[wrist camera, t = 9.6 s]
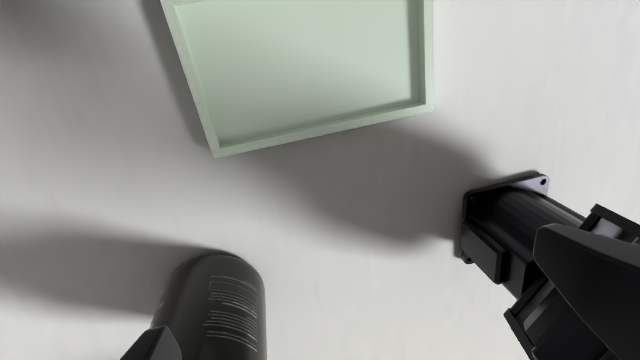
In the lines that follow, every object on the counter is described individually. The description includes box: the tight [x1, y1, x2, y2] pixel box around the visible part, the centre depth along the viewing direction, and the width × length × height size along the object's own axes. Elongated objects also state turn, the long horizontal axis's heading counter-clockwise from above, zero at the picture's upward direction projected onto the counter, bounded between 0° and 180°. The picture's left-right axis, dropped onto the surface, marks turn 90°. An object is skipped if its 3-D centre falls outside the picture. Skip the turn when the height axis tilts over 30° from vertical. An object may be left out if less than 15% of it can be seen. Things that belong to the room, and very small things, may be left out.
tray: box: [160, 0, 434, 159], centre depth 17 cm, size 13×8×1 cm, turn 99°
